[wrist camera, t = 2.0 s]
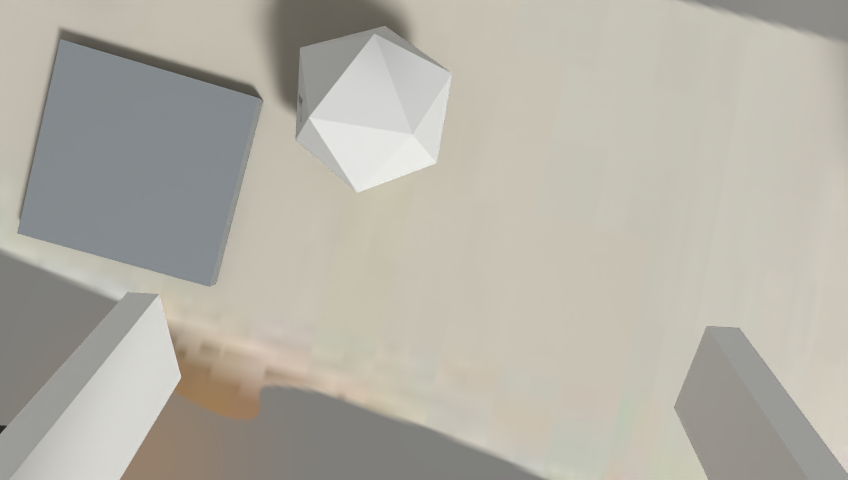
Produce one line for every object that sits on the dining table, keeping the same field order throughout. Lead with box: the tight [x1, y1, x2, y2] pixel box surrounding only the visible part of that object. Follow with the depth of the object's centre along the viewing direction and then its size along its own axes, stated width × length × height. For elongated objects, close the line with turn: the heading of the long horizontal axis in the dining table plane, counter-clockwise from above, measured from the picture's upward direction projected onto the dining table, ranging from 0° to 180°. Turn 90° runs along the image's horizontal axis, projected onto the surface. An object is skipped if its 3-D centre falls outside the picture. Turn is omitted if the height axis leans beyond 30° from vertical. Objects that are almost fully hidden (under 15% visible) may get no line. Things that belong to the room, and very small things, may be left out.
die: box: [296, 26, 452, 193], centre depth 29 cm, size 8×9×10 cm
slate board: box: [17, 39, 263, 287], centre depth 32 cm, size 12×12×1 cm
